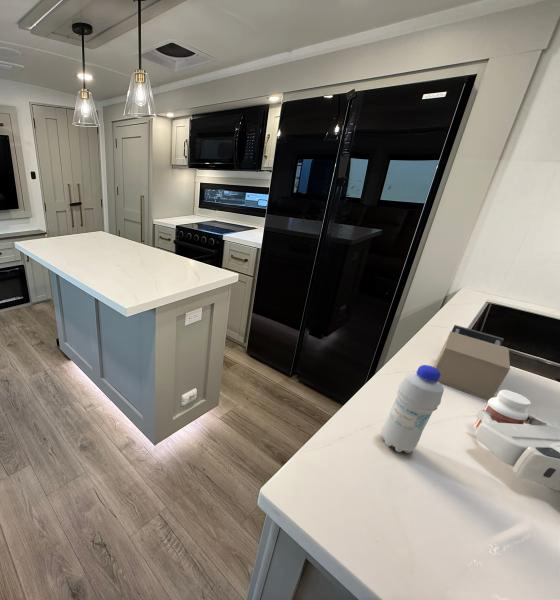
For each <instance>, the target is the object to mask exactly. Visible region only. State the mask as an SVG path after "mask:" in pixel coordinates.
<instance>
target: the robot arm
mask: <svg viewBox="0 0 560 600" xmlns="http://www.w3.org/2000/svg"><path fill="white" fill-rule="evenodd" d="M475 416H476V417H477V419H478V418H479V419H480V420H482V422H481V423H480V425H479V426H478V428H477V429H476V430H474V431H475V432H474V435H475V437H476V439H477V440H478V441H479V442H480V443H481V444H482V445H483V446H484V447H485V448H486V449H487V450H488V451H490V452H491V453H492V454H493V455H494V456H495V457H496V458H498V459H499V460H500V461H502V462H503V463H505V464H507V465H509V466H512V468H511V471H512V472H513V473H514V474H515V476H517V477H519V479H522V480H525V481H528V482H531V483H534V484H538V485H542V486H544V487H546V488H547V487H548V488H550V489H552V490H554V491H557V492H560V426H555V425H554V424H552V423H550V422H548V421H545V420H543V419H541V418H539V417H536V416H535V415H533V413H530V412H528V418H527V419H526V421H525V422H524V424H511V423H498V422H497V421H495V420H492V419H491V417H492V416H493V415H492V414H490V413H489V412H488V411H486V410H483V409H478V410H477V411H476V413H475Z"/></svg>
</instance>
